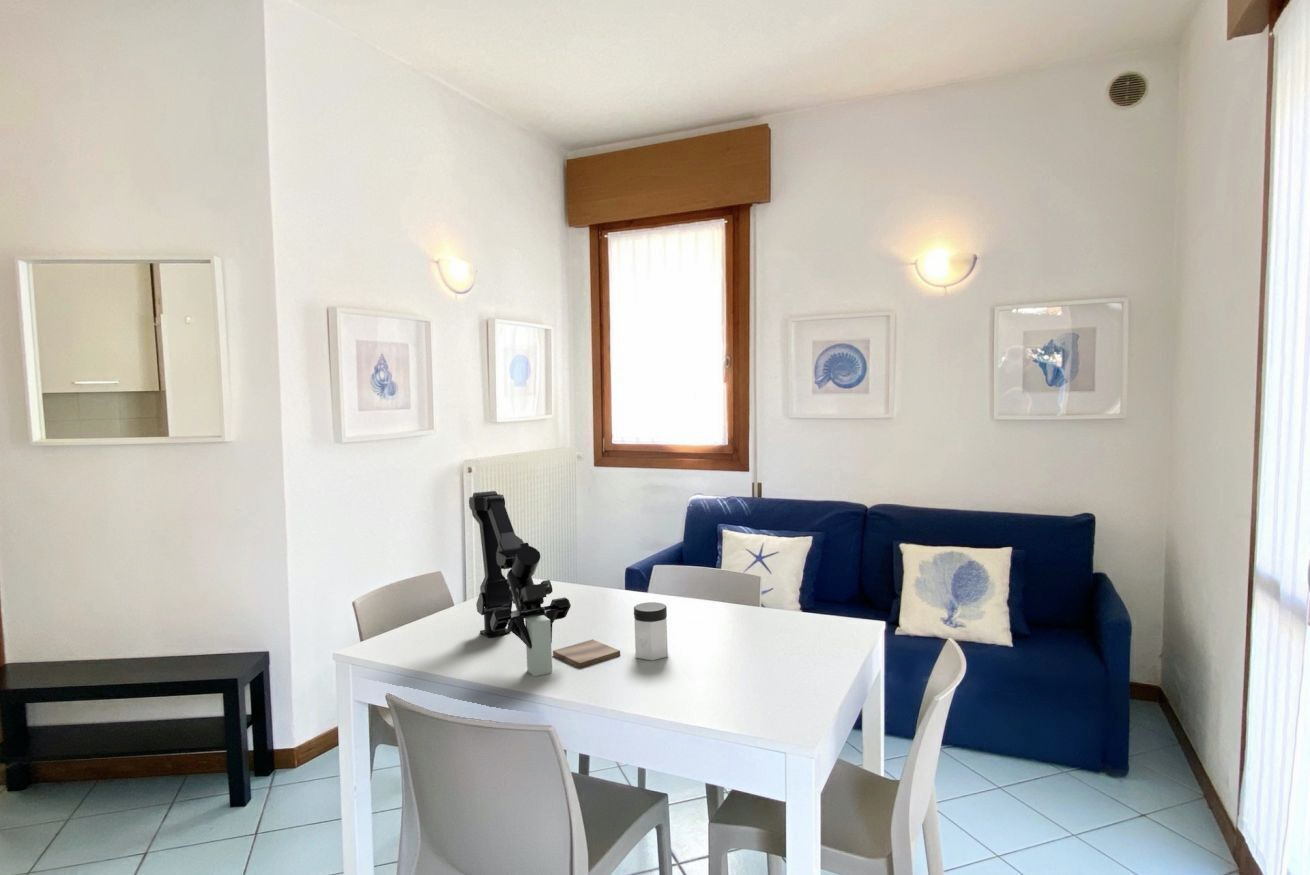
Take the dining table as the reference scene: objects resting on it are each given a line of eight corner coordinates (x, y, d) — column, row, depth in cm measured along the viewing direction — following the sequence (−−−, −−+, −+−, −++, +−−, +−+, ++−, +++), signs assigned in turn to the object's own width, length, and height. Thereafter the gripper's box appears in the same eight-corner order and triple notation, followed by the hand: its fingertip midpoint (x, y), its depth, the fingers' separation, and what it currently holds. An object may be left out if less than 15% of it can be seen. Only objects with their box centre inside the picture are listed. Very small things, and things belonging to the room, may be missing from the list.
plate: (553, 655, 175) (552, 650, 175) (592, 643, 183) (592, 639, 183) (580, 668, 166) (579, 663, 166) (620, 655, 174) (620, 650, 174)
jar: (627, 657, 173) (625, 609, 172) (644, 646, 180) (642, 600, 179) (659, 662, 168) (657, 613, 168) (675, 651, 175) (673, 604, 175)
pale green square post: (527, 670, 166) (525, 618, 165) (545, 666, 168) (543, 615, 167) (534, 676, 162) (531, 623, 161) (552, 672, 164) (550, 619, 164)
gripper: (491, 575, 163) (508, 635, 154) (566, 564, 172) (586, 620, 163) (483, 601, 170) (499, 660, 161) (555, 589, 179) (574, 644, 170)
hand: (540, 645), depth 163 cm, fingers closed on pale green square post, 4 cm apart
